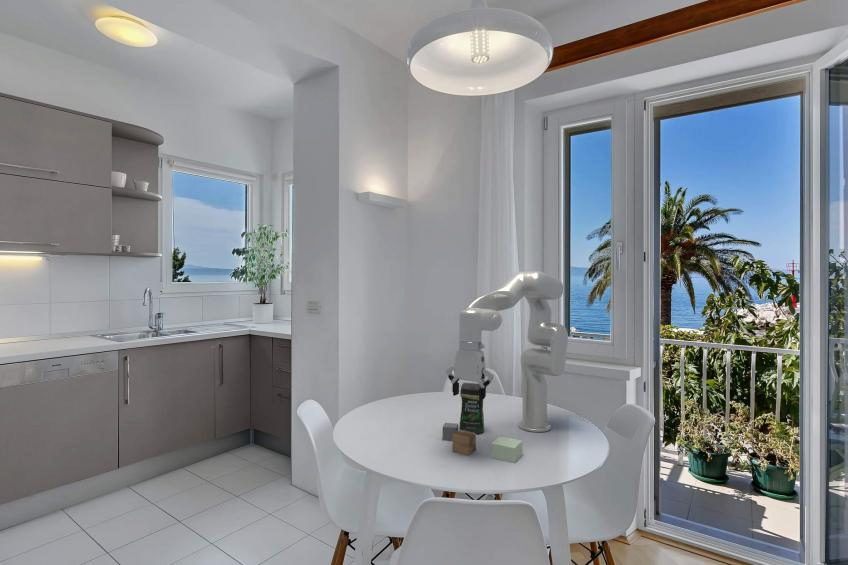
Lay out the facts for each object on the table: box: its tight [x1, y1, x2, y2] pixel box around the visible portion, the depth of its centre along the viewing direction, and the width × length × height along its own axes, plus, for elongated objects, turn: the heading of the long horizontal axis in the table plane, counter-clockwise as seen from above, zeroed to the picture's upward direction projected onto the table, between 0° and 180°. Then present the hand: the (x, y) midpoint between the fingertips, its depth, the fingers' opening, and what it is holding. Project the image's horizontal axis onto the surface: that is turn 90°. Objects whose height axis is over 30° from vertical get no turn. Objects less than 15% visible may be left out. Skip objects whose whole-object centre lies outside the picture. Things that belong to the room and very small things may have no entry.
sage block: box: [490, 435, 523, 464], centre depth 149 cm, size 8×8×5 cm
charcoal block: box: [442, 422, 459, 442], centre depth 166 cm, size 5×5×5 cm
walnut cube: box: [451, 429, 477, 457], centre depth 154 cm, size 6×6×6 cm
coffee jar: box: [459, 382, 485, 435], centre depth 174 cm, size 10×8×19 cm
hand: (468, 397), depth 150 cm, fingers open, 9 cm apart
